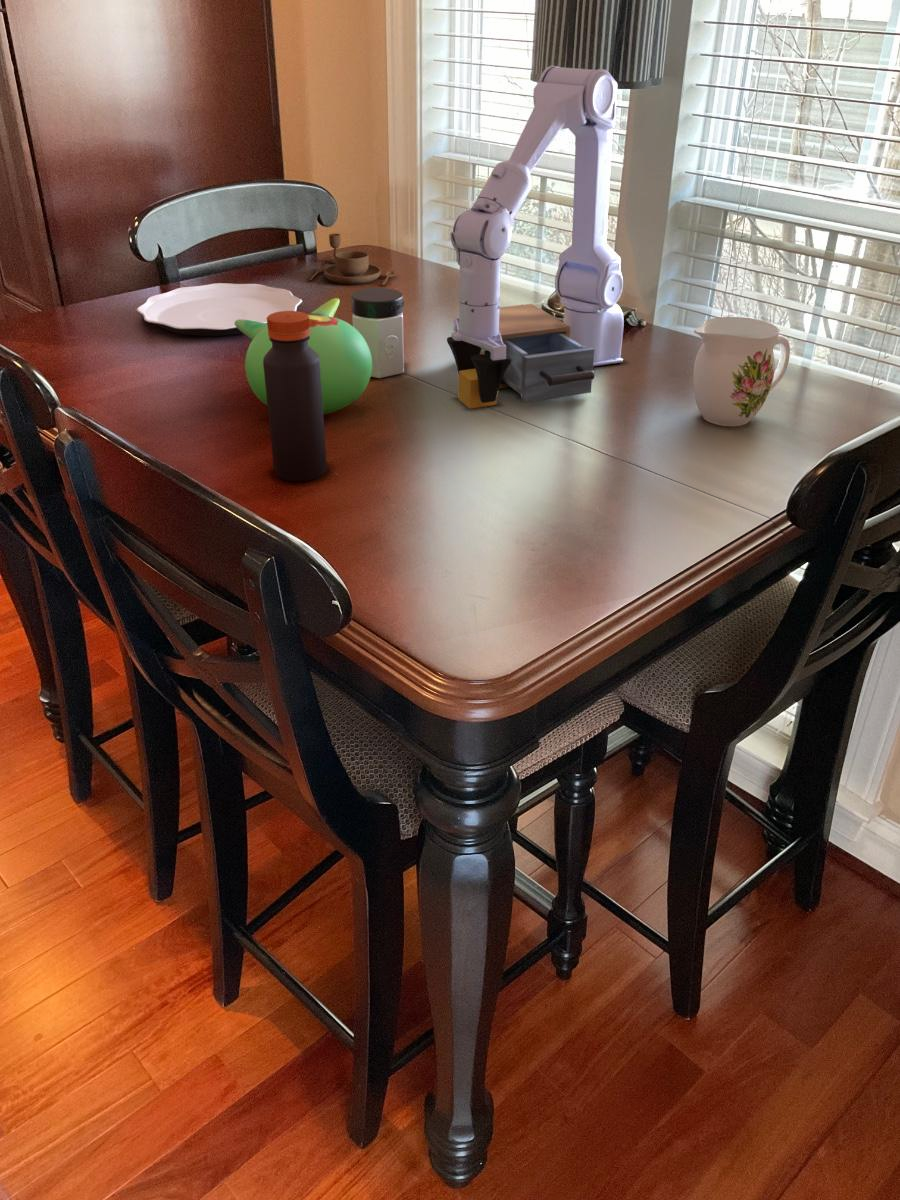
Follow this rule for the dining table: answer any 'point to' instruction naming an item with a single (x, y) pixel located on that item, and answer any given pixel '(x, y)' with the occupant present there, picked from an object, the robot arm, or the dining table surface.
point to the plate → (215, 307)
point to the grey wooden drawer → (548, 366)
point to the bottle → (294, 399)
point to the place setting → (350, 266)
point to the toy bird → (337, 350)
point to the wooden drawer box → (527, 324)
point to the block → (471, 389)
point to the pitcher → (736, 368)
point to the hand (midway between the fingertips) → (477, 392)
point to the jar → (381, 328)
